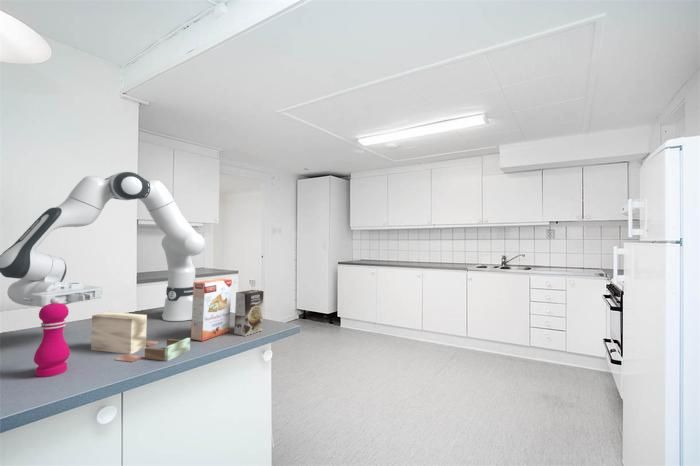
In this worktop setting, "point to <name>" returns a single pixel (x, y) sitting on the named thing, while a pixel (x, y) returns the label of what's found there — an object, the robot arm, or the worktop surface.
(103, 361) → the worktop surface
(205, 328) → the cracker box
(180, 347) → the trap course
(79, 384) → the worktop surface
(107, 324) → the maple block
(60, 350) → the pepper mill
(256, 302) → the coffee box
